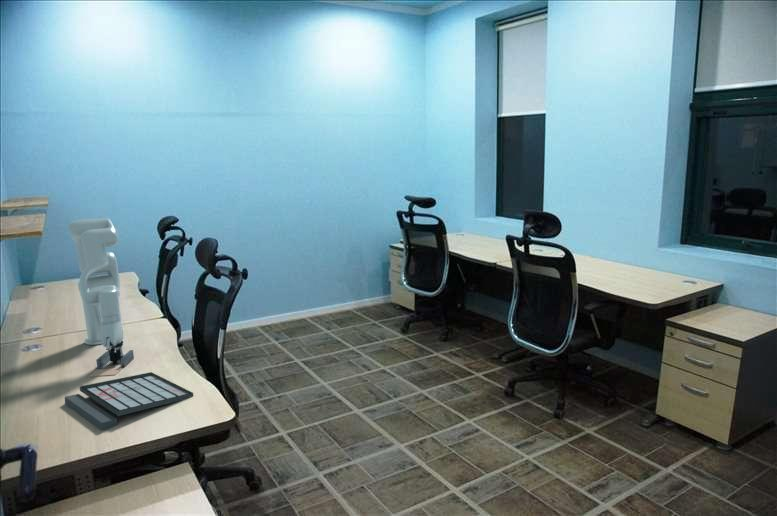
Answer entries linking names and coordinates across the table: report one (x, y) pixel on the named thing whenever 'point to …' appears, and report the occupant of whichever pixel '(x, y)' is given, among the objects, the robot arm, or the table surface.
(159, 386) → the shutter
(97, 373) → the mat
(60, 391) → the table surface
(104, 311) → the robot arm
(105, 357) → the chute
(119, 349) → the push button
